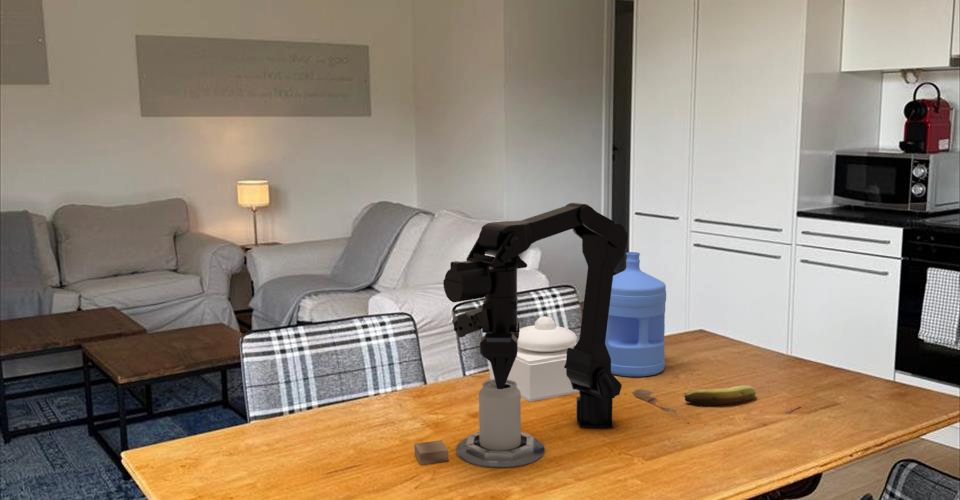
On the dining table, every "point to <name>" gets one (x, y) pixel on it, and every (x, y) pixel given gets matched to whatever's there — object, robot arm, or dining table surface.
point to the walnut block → (431, 452)
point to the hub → (500, 452)
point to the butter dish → (542, 361)
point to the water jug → (636, 322)
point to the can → (499, 416)
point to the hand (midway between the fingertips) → (501, 380)
